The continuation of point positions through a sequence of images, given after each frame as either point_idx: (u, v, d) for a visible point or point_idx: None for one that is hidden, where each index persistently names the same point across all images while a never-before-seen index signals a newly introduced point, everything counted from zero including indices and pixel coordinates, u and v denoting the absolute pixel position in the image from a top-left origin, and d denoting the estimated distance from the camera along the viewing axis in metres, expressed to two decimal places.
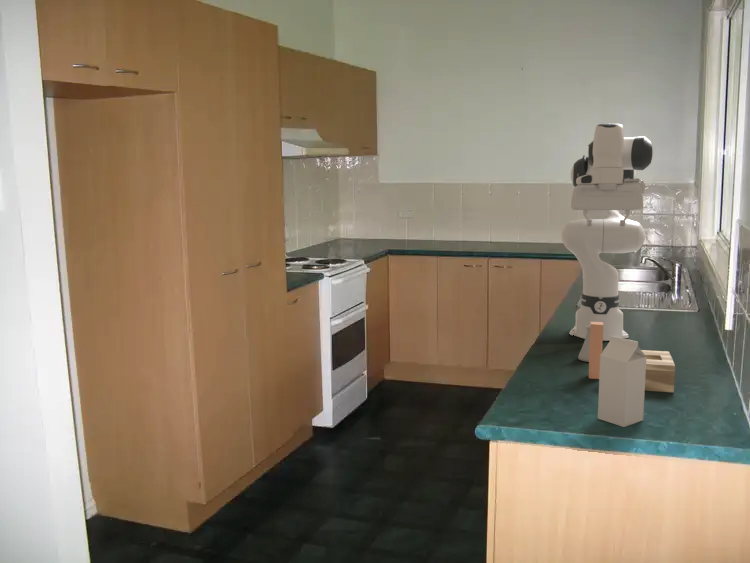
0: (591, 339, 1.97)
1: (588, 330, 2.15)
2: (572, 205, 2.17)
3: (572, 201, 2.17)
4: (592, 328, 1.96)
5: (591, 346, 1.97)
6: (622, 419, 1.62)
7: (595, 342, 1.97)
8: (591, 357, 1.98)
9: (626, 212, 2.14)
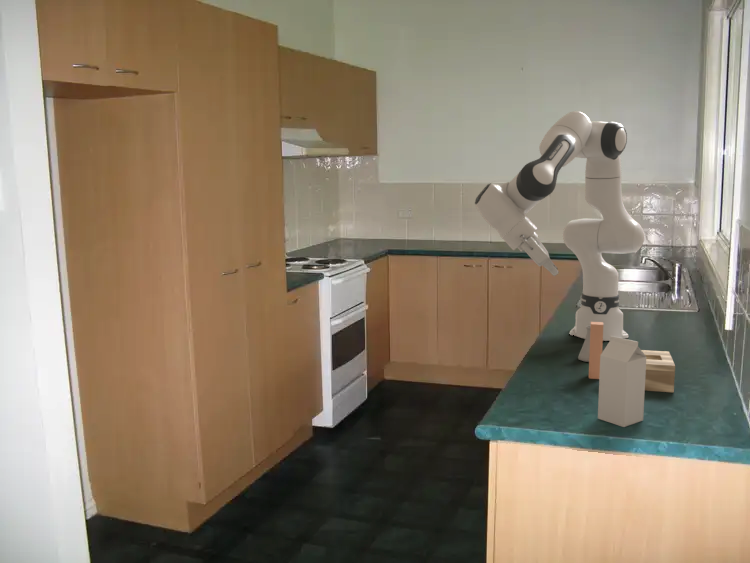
0: (591, 339, 1.97)
1: (588, 330, 2.15)
2: None
3: None
4: (592, 328, 1.96)
5: (591, 346, 1.97)
6: (622, 419, 1.62)
7: (595, 342, 1.97)
8: (591, 357, 1.98)
9: None
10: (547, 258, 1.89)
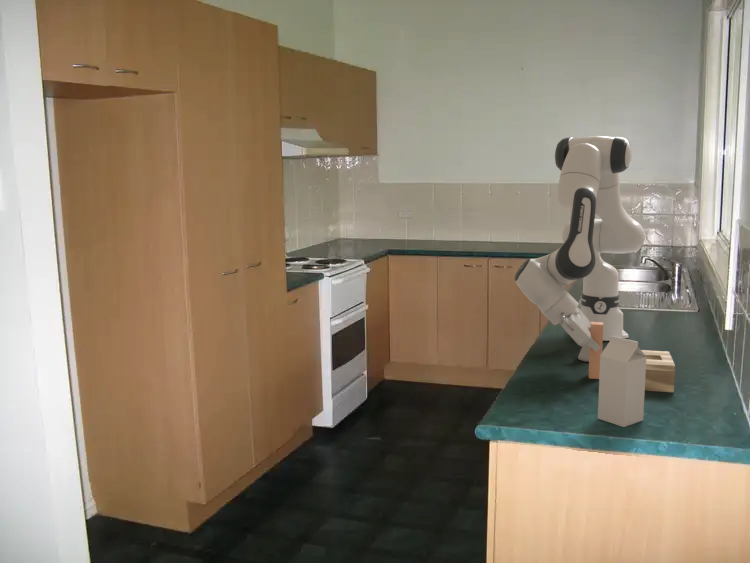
0: None
1: None
2: None
3: None
4: (592, 328, 1.96)
5: None
6: (622, 419, 1.62)
7: None
8: (591, 357, 1.98)
9: None
10: (588, 339, 1.89)
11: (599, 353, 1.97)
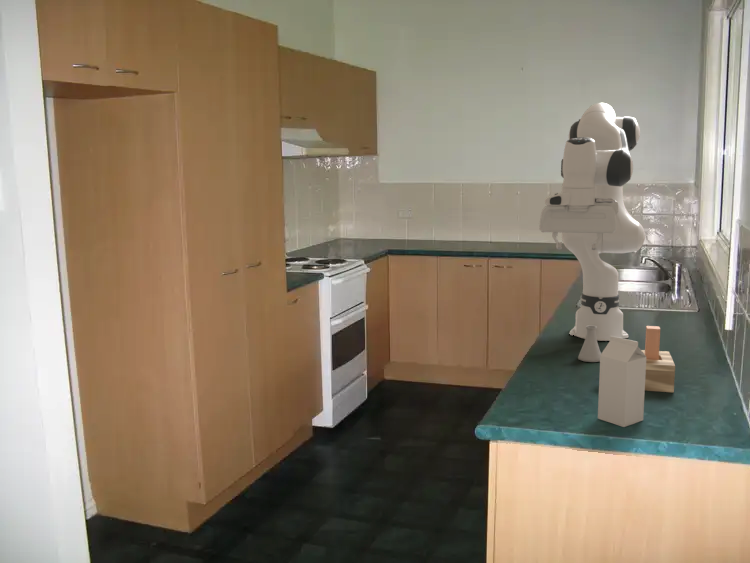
0: (647, 344, 1.91)
1: (588, 330, 2.15)
2: (540, 227, 2.01)
3: (540, 223, 2.01)
4: (648, 332, 1.91)
5: (647, 350, 1.92)
6: (622, 419, 1.62)
7: (651, 347, 1.91)
8: None
9: (598, 235, 1.98)
10: None
11: (655, 358, 1.91)
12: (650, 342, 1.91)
